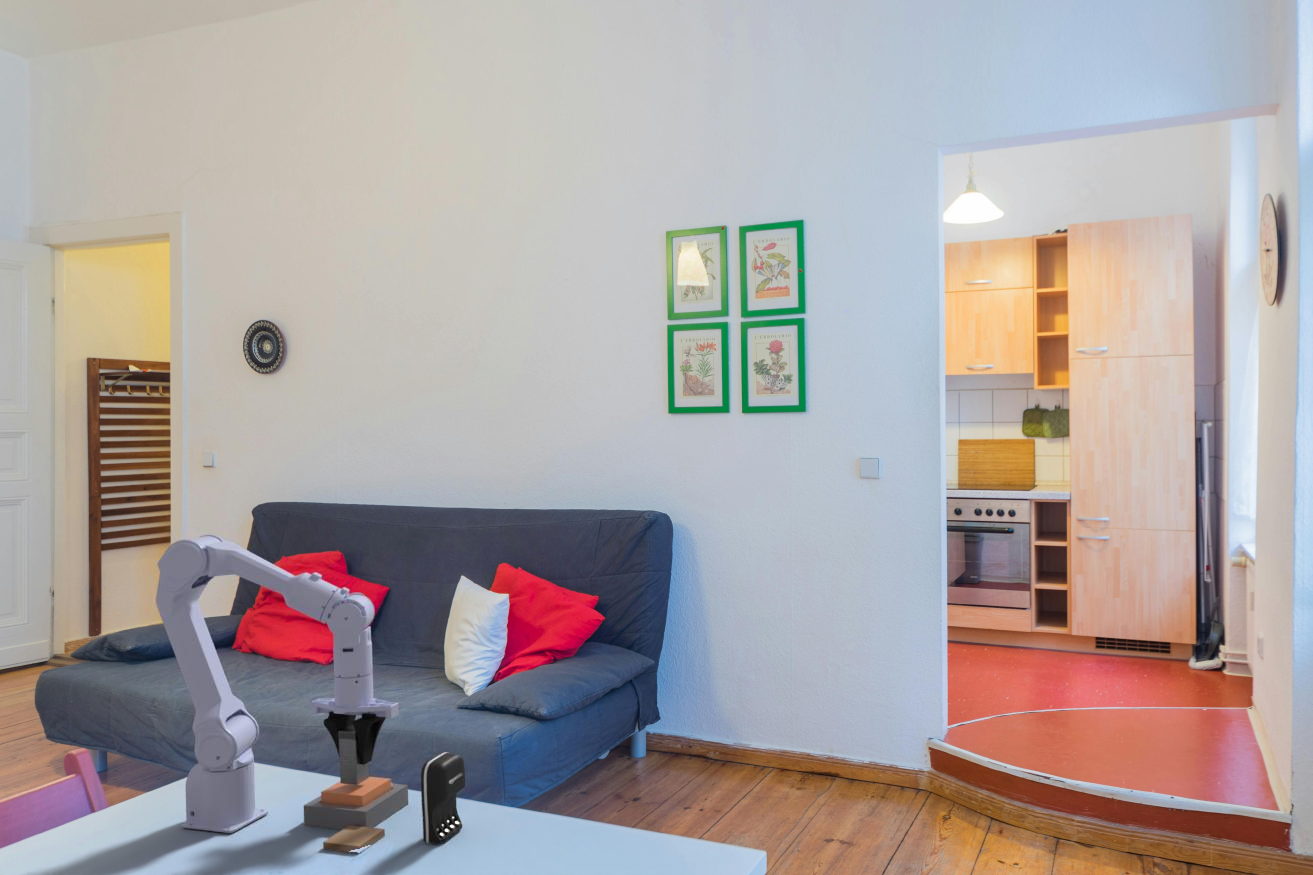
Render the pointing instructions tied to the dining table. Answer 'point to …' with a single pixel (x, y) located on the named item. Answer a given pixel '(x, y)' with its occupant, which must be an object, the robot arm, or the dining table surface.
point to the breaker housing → (356, 810)
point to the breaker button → (356, 792)
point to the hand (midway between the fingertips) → (356, 761)
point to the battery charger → (441, 796)
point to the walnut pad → (353, 838)
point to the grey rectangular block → (351, 758)
